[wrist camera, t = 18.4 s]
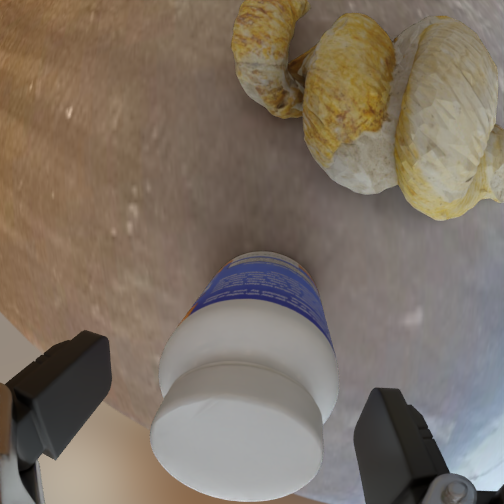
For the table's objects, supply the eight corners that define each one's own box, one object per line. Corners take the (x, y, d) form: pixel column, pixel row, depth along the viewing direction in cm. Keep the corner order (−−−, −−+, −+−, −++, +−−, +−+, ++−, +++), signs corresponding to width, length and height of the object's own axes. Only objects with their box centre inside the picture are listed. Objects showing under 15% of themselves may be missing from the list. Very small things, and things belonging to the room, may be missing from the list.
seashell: (508, 324, 8) (159, 15, 7) (428, 288, 14) (190, 87, 13) (579, 142, 7) (339, -97, 6) (506, 153, 13) (314, -24, 12)
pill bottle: (205, 250, 15) (88, 349, 6) (320, 247, 14) (372, 359, 5) (214, 351, 16) (148, 499, 7) (318, 351, 15) (337, 514, 6)
